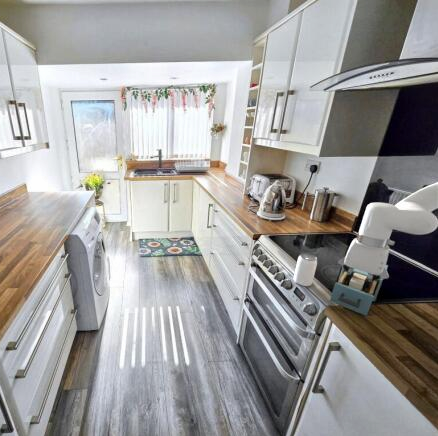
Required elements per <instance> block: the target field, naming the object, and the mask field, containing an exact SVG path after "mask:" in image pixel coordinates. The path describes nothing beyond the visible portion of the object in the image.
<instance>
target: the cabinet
mask: <svg viewBox="0 0 438 436" xmlns="http://www.w3.org/2000/svg"><path fill="white" fill-rule="evenodd" d="M388 267H389V265H388V264H386V265H385V268H386V270H387V271H388ZM344 272H345V269H344V268H343V267H342V266H341V270H340V274H339V277H338V280H337V283H339V281H340V279H341V277H342V276H343V274H344ZM353 272H354V273H358V274H361V275H364V276H367V277H368V273H367V272H364V271H361V270H358V269H354V270H353ZM383 280H384V279H378V280H377V283H376V286H375V289H374V291H373V294H372V295H374V298H373V301H372V302H374V303H375V302H376V300H377V297H378V294H379V291H380V288H381V287H382V283H383Z"/></svg>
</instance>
